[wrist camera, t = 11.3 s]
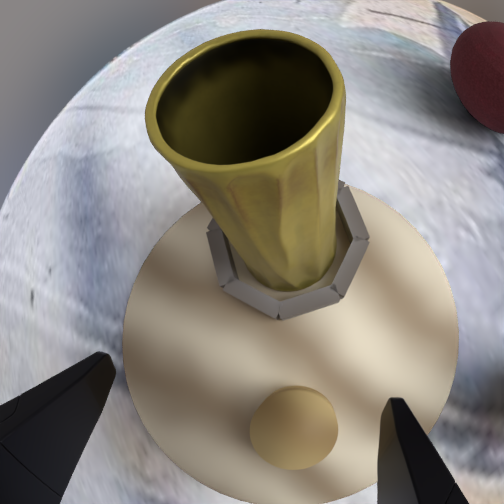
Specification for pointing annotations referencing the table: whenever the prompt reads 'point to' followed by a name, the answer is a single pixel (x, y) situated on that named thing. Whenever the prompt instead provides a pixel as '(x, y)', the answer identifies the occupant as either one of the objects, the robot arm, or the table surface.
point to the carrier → (288, 355)
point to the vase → (258, 146)
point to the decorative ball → (481, 73)
